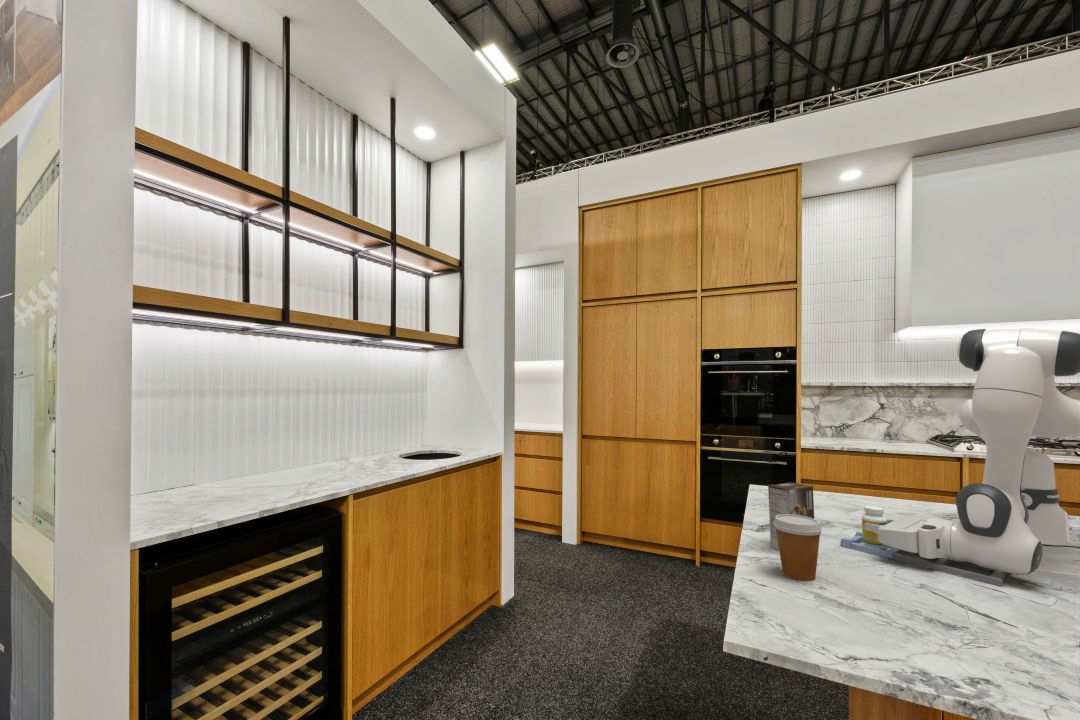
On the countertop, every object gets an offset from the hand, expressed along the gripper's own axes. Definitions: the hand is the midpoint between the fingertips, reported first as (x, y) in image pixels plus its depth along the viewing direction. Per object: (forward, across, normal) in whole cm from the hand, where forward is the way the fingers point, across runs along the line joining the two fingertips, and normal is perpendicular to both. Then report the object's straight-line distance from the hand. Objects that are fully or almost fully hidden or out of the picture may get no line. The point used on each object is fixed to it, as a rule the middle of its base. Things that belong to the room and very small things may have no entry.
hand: (870, 523), depth 117 cm
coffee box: (+11, +18, +6) cm, 22 cm away
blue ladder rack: (-10, 0, +6) cm, 12 cm away
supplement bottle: (-1, 0, +6) cm, 6 cm away
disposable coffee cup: (+2, +34, +6) cm, 35 cm away
